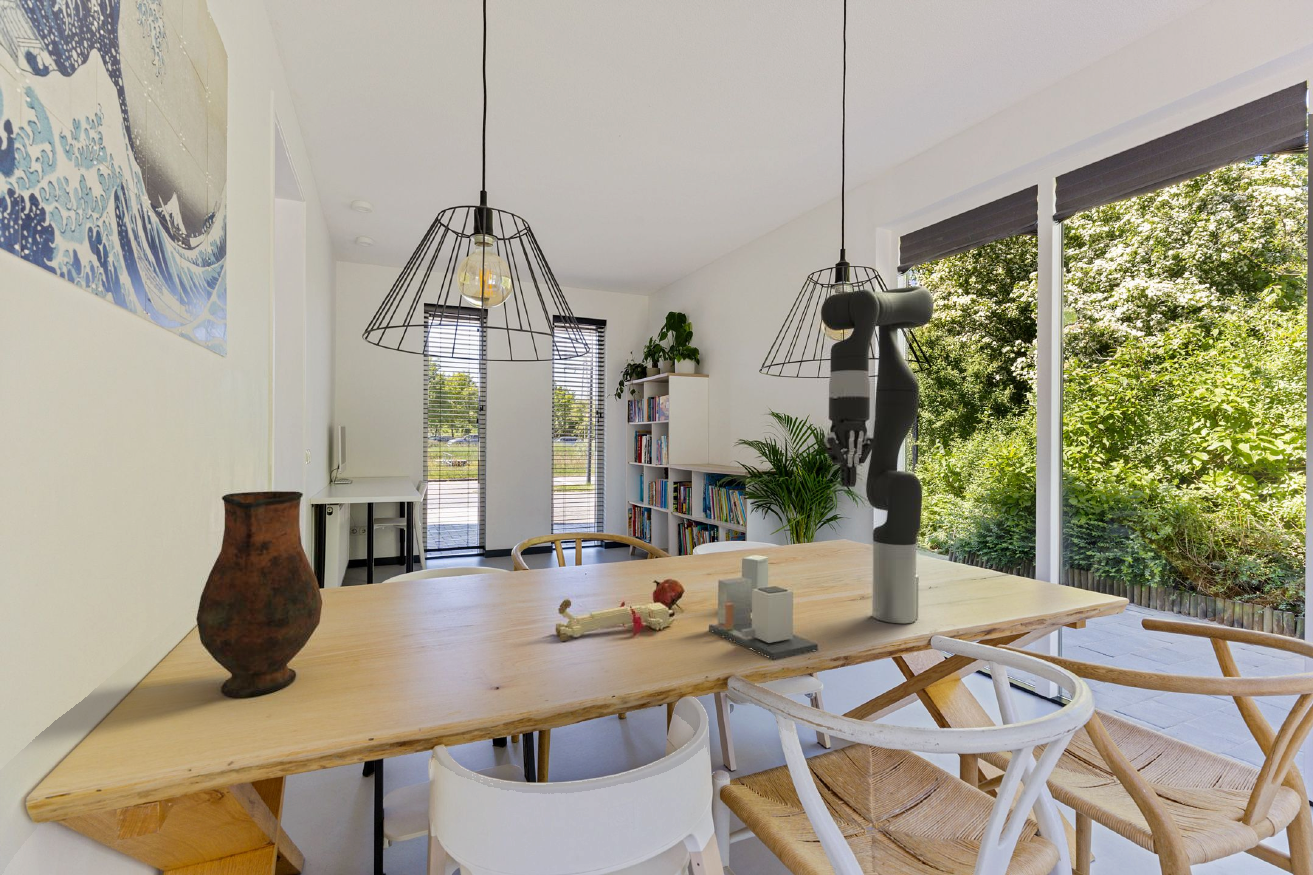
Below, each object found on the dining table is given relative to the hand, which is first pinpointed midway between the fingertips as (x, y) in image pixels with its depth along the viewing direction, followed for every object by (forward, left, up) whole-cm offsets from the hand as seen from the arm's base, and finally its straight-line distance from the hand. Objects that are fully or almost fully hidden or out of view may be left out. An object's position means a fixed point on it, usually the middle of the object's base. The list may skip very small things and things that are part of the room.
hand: (848, 486), depth 120 cm
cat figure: (+33, -30, -32) cm, 55 cm away
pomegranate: (+15, -40, -31) cm, 53 cm away
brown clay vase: (+95, -34, -31) cm, 106 cm away
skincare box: (-4, -32, -31) cm, 45 cm away
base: (+11, -12, -31) cm, 35 cm away
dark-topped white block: (+12, -9, -29) cm, 33 cm away
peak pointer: (+15, -17, -29) cm, 37 cm away
